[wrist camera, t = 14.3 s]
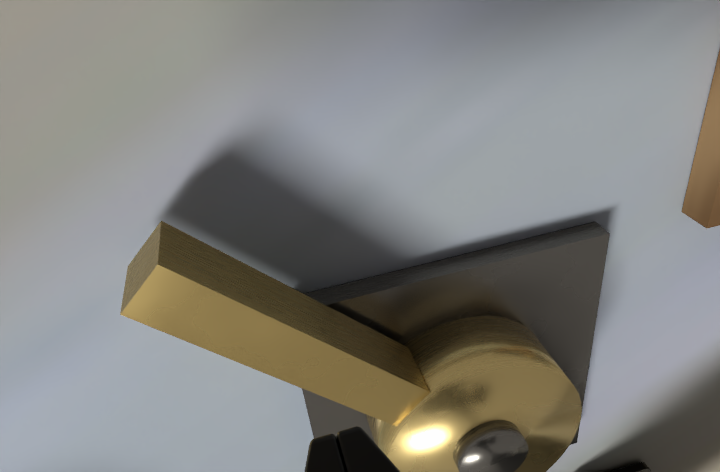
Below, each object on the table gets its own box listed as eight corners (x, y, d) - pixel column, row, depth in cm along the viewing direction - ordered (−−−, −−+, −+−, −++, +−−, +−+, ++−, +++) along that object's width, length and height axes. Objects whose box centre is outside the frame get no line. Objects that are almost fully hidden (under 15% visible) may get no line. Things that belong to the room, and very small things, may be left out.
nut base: (566, 428, 26) (576, 442, 25) (329, 500, 24) (333, 518, 23) (595, 221, 20) (609, 233, 19) (280, 299, 18) (284, 315, 17)
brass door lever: (577, 359, 22) (628, 422, 19) (455, 472, 24) (487, 543, 21) (221, 132, 14) (229, 188, 11) (77, 330, 16) (56, 417, 13)
